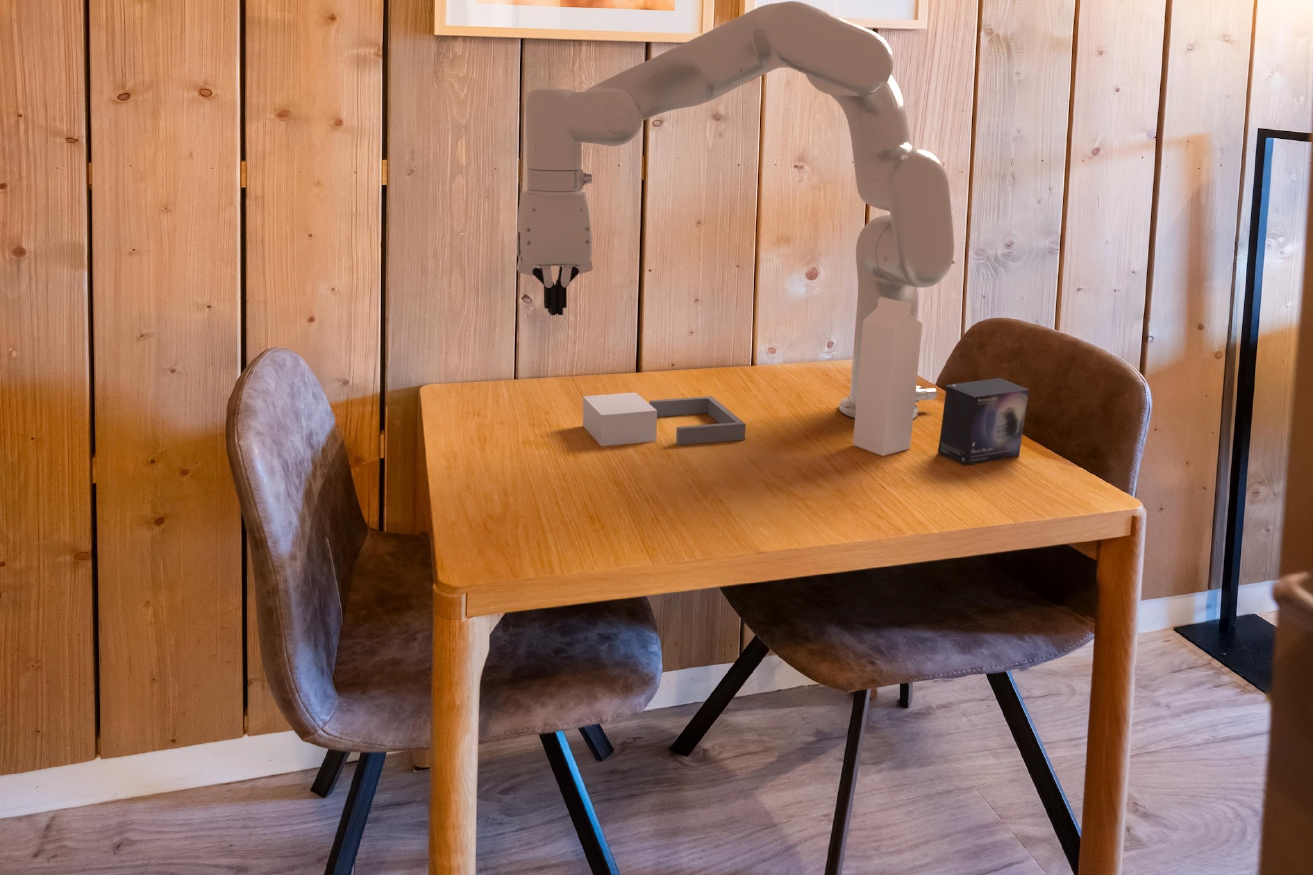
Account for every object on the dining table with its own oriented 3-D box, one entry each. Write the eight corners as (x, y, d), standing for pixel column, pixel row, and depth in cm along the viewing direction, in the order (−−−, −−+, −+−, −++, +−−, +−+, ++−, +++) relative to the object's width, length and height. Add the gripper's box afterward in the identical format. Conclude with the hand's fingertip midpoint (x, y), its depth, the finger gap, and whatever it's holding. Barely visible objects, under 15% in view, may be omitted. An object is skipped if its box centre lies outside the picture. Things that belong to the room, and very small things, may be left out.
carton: (635, 422, 168) (635, 392, 167) (656, 442, 159) (656, 410, 158) (583, 427, 165) (583, 396, 164) (601, 447, 156) (601, 415, 155)
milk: (882, 456, 154) (896, 306, 147) (852, 445, 159) (863, 298, 152) (911, 448, 158) (925, 301, 151) (879, 437, 162) (892, 294, 155)
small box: (967, 467, 151) (975, 396, 147) (935, 453, 156) (943, 384, 153) (1022, 457, 155) (1031, 387, 152) (989, 443, 161) (998, 376, 158)
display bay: (711, 410, 174) (711, 396, 173) (744, 439, 160) (745, 423, 160) (649, 415, 171) (649, 400, 170) (678, 445, 157) (678, 428, 157)
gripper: (600, 180, 153) (599, 306, 159) (496, 180, 149) (499, 310, 155) (613, 185, 146) (612, 317, 152) (504, 185, 142) (507, 321, 148)
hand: (555, 313), depth 154 cm, fingers closed
